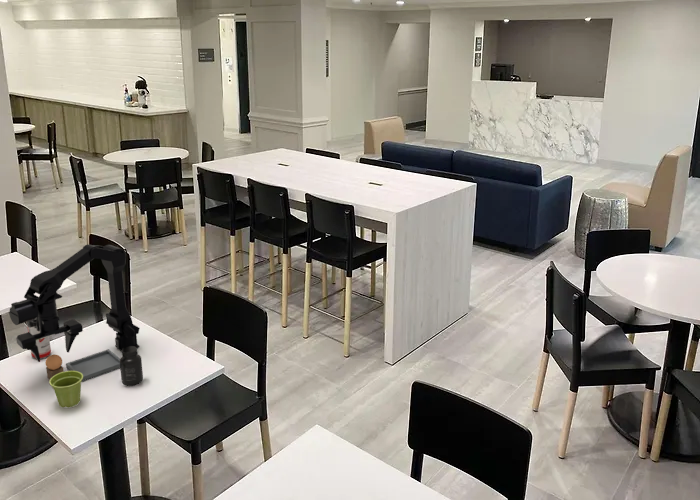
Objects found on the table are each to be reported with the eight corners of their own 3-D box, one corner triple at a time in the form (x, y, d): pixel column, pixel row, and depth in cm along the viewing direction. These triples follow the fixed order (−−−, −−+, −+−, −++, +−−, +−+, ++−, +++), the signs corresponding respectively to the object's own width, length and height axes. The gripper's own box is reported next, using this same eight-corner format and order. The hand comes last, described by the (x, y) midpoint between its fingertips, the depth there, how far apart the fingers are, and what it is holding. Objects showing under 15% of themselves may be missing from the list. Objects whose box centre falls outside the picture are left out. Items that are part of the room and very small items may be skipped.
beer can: (55, 351, 216) (49, 311, 211) (44, 360, 210) (38, 319, 205) (38, 350, 216) (32, 310, 211) (27, 359, 211) (21, 317, 205)
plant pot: (61, 415, 181) (58, 390, 178) (47, 402, 187) (43, 378, 184) (91, 402, 188) (88, 378, 185) (76, 390, 194) (73, 367, 191)
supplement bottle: (147, 378, 202) (145, 346, 198) (134, 388, 196) (131, 356, 192) (130, 374, 204) (127, 342, 200) (117, 384, 198) (113, 352, 194)
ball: (59, 363, 202) (57, 350, 201) (65, 369, 199) (63, 355, 197) (44, 368, 199) (42, 355, 197) (49, 374, 196) (48, 360, 194)
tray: (108, 353, 217) (108, 349, 216) (124, 366, 209) (124, 362, 208) (66, 368, 206) (65, 363, 206) (81, 382, 198) (80, 377, 198)
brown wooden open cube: (59, 373, 203) (58, 363, 202) (64, 378, 200) (63, 367, 199) (47, 377, 200) (46, 367, 199) (52, 382, 198) (50, 371, 196)
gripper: (66, 297, 204) (72, 338, 209) (6, 313, 191) (14, 356, 196) (80, 308, 197) (85, 350, 202) (19, 325, 184) (26, 370, 189)
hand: (53, 356), depth 198 cm, fingers open, 9 cm apart
